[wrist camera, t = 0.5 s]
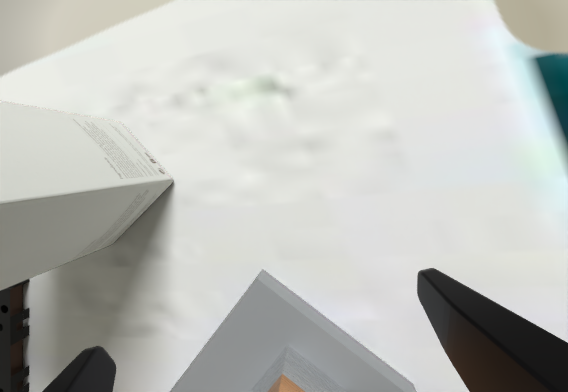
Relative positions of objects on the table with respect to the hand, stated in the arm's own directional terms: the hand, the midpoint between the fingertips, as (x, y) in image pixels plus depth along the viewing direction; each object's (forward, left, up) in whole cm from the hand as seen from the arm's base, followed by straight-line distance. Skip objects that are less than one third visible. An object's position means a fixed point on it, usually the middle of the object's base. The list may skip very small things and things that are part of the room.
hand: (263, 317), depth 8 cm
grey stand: (-7, +12, -14) cm, 19 cm away
